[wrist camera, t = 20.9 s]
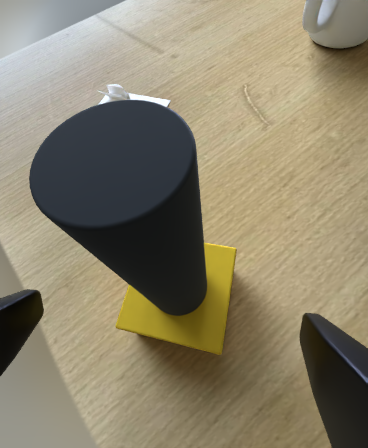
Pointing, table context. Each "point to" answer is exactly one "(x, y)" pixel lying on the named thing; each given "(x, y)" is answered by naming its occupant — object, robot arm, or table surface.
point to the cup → (336, 22)
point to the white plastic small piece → (127, 96)
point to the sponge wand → (139, 216)
